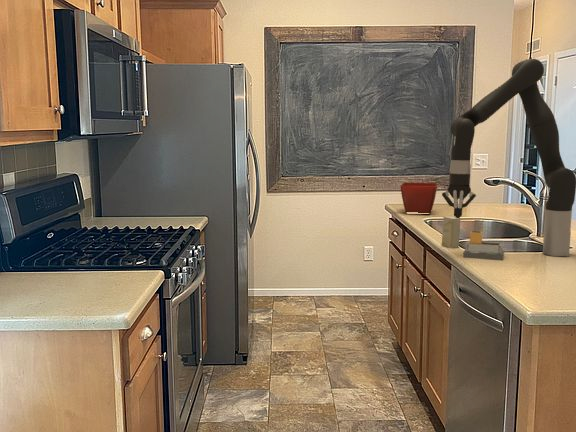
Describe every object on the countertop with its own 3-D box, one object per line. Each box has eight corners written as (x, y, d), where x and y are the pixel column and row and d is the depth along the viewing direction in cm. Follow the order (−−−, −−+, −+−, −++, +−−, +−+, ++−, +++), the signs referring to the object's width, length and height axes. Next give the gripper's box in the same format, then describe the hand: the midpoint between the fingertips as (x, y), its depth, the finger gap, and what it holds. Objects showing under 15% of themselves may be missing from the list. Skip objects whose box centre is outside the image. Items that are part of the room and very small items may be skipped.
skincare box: (441, 245, 249) (442, 216, 247) (450, 244, 250) (451, 215, 249) (450, 248, 243) (451, 218, 241) (459, 247, 245) (461, 217, 243)
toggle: (481, 249, 229) (482, 230, 228) (480, 251, 226) (481, 231, 225) (470, 248, 231) (471, 229, 230) (469, 250, 227) (470, 231, 226)
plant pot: (399, 215, 336) (400, 185, 334) (403, 210, 354) (404, 182, 352) (434, 216, 331) (435, 186, 328) (436, 212, 349) (437, 183, 346)
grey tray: (504, 255, 229) (504, 242, 228) (502, 260, 221) (503, 246, 220) (466, 252, 234) (466, 240, 234) (463, 257, 226) (463, 244, 225)
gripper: (479, 172, 228) (476, 217, 230) (443, 171, 233) (441, 215, 236) (477, 173, 221) (474, 220, 224) (440, 172, 226) (438, 217, 229)
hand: (457, 217), depth 230 cm, fingers closed
